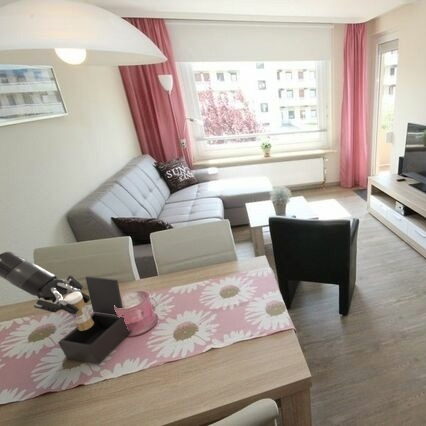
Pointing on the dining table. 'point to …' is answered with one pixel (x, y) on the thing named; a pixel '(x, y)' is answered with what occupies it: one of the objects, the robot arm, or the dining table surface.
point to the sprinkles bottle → (80, 311)
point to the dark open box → (95, 339)
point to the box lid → (104, 294)
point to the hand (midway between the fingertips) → (82, 306)
